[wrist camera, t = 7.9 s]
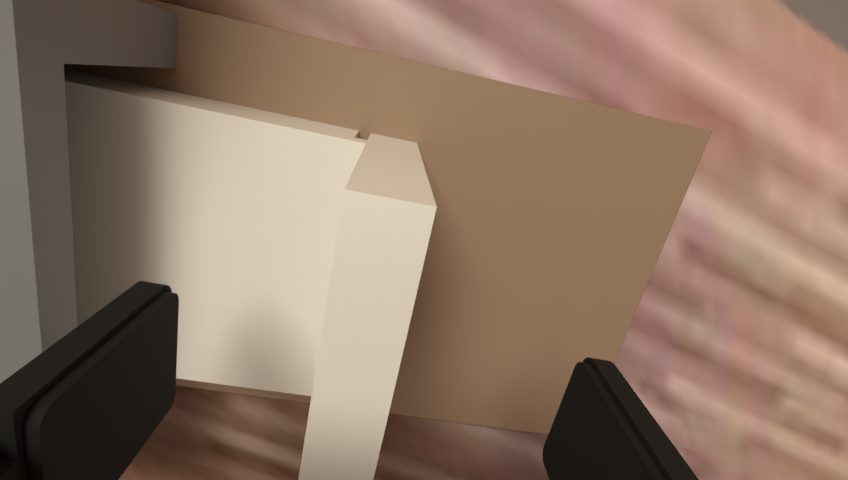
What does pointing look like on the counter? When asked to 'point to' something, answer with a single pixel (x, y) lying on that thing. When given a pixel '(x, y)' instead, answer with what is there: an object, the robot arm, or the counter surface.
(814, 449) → the counter surface
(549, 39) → the counter surface
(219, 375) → the white l-shaped block
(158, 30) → the shelf dock
